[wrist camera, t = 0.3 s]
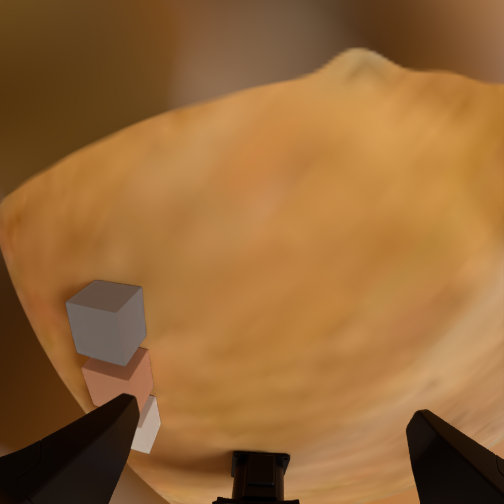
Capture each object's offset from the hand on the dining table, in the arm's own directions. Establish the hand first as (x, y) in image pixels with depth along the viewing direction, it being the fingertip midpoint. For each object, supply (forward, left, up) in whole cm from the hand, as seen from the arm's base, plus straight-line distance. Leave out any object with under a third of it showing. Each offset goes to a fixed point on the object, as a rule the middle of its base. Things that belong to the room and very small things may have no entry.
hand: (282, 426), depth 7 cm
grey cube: (-4, +12, -14) cm, 19 cm away
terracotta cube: (-10, +12, -14) cm, 21 cm away
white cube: (-16, +12, -14) cm, 25 cm away
